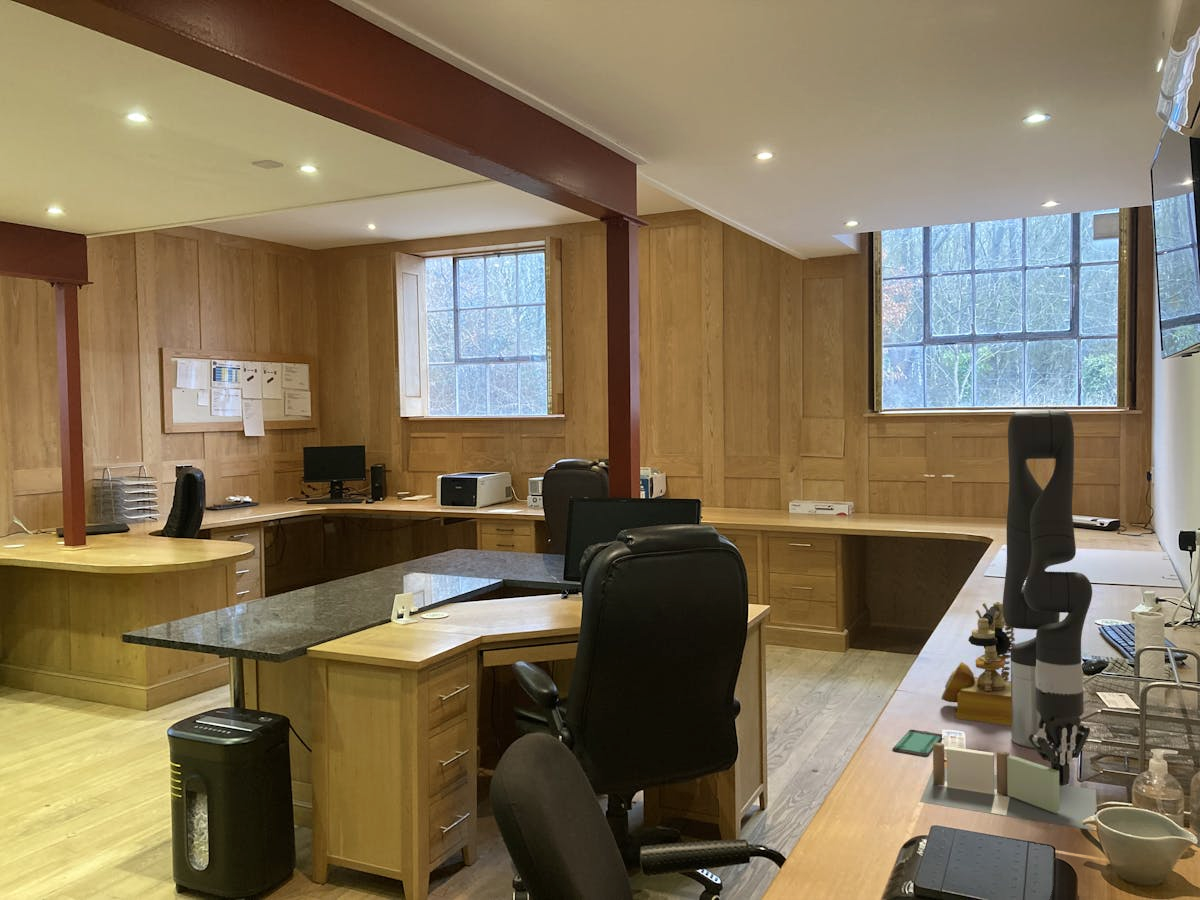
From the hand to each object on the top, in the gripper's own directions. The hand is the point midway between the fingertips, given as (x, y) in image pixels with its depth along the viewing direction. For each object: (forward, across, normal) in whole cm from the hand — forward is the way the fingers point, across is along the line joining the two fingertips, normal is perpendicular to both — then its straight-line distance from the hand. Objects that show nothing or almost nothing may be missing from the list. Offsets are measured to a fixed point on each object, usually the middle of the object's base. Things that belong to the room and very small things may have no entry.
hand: (1060, 783), depth 160 cm
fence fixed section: (+4, +8, -13) cm, 16 cm away
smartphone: (+5, -2, -36) cm, 36 cm away
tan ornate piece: (+6, -34, -48) cm, 60 cm away
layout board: (+4, +4, -8) cm, 10 cm away
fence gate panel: (+4, +4, -3) cm, 6 cm away
